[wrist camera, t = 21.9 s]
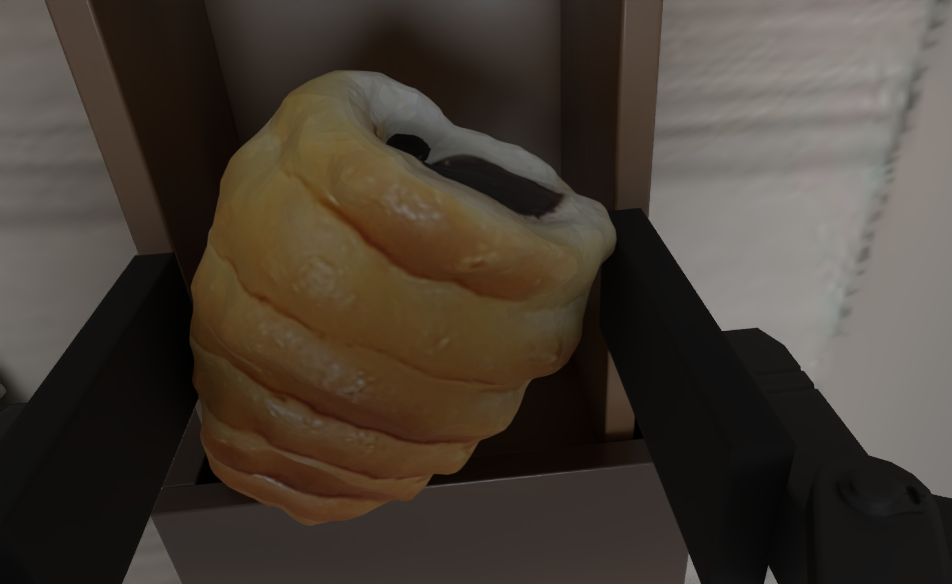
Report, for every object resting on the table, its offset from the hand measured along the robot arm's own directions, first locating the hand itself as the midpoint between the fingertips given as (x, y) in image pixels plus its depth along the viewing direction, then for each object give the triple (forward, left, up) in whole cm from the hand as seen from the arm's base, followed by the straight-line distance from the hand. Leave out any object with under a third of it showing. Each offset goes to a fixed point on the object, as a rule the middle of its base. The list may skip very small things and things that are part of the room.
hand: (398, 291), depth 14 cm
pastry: (0, 0, -1) cm, 1 cm away
